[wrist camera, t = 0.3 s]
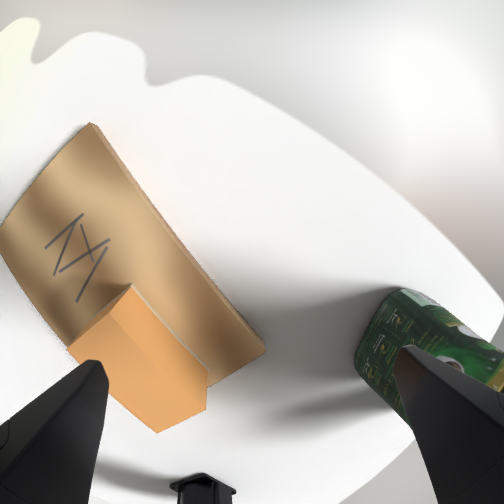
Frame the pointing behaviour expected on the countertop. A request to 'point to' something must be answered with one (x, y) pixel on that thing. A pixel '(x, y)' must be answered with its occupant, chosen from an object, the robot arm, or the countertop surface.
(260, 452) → the countertop surface
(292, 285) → the countertop surface
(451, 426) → the robot arm
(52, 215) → the oak board
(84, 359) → the block
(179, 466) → the countertop surface
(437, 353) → the coffee jar
